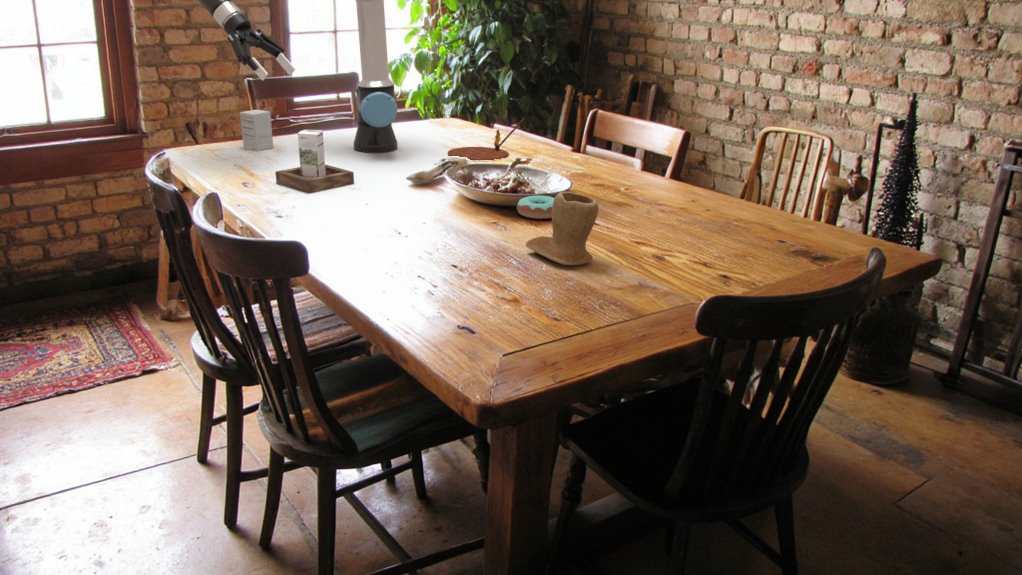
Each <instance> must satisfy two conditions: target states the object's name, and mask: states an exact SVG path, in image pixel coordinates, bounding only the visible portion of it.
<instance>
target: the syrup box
mask: <svg viewBox="0 0 1022 575" xmlns="http://www.w3.org/2000/svg"><path fill="white" fill-rule="evenodd" d="M297 140H298V141H297V142H298V154H299V155H298V156H299V167H300V169H301V176H302V177H305V178H309V179H311V178H316V177H321V176H326V171H325V164H326V162H325V161H326V159H325V145H324V144H325V141H324V131H323V130H322V129H321V130H319V129H302V130H300V131H299V132H298V133H297Z"/></svg>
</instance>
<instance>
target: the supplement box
mask: <svg viewBox="0 0 1022 575" xmlns="http://www.w3.org/2000/svg"><path fill="white" fill-rule="evenodd" d="M239 115H240V124H241V126H240V127H241V136H242V144H243V149H244V150H245V149H246V150H249V151H254V152H260V151H265V150H269V149H273V148H274V139H273V129H272V128H273V127H272V117H271V112H270V111H268V110H262V109H252V110H245V111H241V112H239Z"/></svg>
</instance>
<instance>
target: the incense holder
mask: <svg viewBox="0 0 1022 575" xmlns="http://www.w3.org/2000/svg"><path fill="white" fill-rule="evenodd" d="M524 120H526V118H525V117H523V118H522V120H520V121H519V122H518V123H517V124H516V125H515V126H514V128H513V129H512V130H511V131H510V132H509V133H508V134H507V135H506V136H505V137H504V139H503V140H501V132H500V129H497V130H496V131H495V133H496V134H495V137H494V142H493V146H494V147H488V146H487V147H486V146H465V147H462V146H461V147H456V148H452V149H450V150H448V151H447V156H448V157H449V156H459V157H467V158H468V159H470V160H493V161H495V160H494V159H500V160H502V159H501V158H504V159H506V158H508V157H509V156H510V153H509V152H508V151H507V150H504V149H501V148H500V147H501V146H502V145H503V144H504V143H505V141H506V140H507V139H508V138H509V137H510V136H511V135H512V134H513V133H514V132H515V130H516V129H518V127H519V126H520V125H521V124H522V123H523V121H524ZM500 141H501V142H500Z"/></svg>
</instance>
